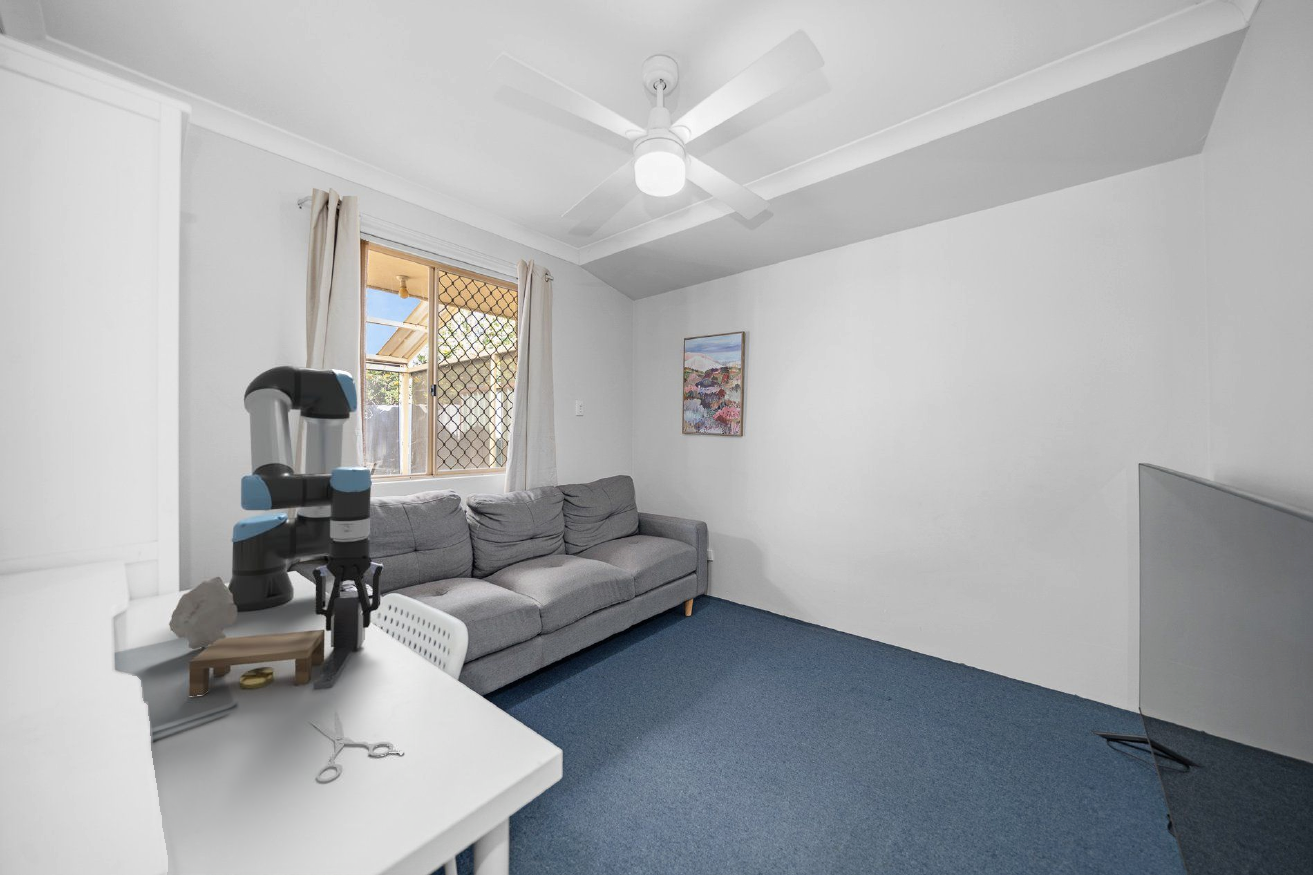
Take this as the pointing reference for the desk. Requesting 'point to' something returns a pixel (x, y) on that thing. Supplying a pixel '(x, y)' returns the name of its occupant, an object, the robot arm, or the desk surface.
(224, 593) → the stone tool
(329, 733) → the scissors
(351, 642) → the dark grey l-shaped block
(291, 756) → the desk surface
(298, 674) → the stand
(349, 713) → the desk surface
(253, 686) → the disc
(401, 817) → the desk surface
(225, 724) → the desk surface
